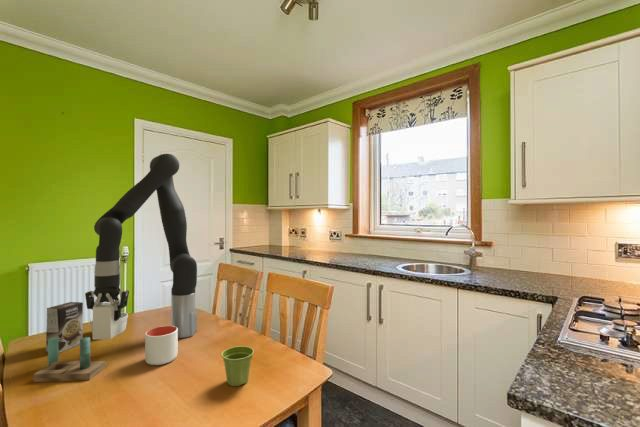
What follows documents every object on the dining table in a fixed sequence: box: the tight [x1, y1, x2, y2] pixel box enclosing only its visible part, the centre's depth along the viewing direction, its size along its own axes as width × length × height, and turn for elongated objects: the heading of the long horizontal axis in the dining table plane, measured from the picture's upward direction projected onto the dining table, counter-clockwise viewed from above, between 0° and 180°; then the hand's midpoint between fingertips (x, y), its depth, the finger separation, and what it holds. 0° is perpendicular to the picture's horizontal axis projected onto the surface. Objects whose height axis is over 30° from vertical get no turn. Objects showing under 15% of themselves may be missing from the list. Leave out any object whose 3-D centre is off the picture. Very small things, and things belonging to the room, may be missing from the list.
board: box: [61, 336, 107, 382], centre depth 97 cm, size 8×8×11 cm
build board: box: [33, 360, 80, 383], centre depth 97 cm, size 8×8×2 cm
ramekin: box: [89, 311, 129, 335], centre depth 131 cm, size 13×13×7 cm
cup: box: [144, 325, 179, 366], centre depth 107 cm, size 10×10×10 cm
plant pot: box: [221, 345, 255, 387], centre depth 93 cm, size 9×9×9 cm
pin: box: [47, 337, 59, 366], centre depth 102 cm, size 3×3×9 cm
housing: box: [92, 302, 122, 340], centre depth 110 cm, size 6×6×11 cm
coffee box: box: [45, 301, 84, 354], centre depth 117 cm, size 9×6×16 cm
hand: (107, 320), depth 110 cm, fingers closed on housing, 6 cm apart
